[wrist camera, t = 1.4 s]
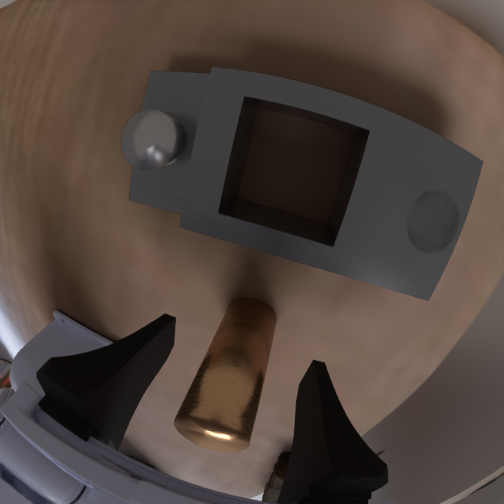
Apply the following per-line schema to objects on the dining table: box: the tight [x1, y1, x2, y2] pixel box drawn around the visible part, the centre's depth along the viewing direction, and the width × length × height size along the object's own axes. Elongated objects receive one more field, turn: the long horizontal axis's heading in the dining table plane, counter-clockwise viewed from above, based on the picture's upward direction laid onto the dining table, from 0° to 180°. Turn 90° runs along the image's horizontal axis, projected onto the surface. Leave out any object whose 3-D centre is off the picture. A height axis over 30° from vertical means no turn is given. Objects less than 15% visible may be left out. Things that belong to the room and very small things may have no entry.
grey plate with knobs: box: [121, 67, 483, 301], centre depth 11 cm, size 15×7×3 cm, turn 77°
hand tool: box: [262, 452, 291, 503], centre depth 23 cm, size 19×4×5 cm, turn 172°
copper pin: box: [174, 298, 276, 452], centre depth 12 cm, size 3×3×8 cm
